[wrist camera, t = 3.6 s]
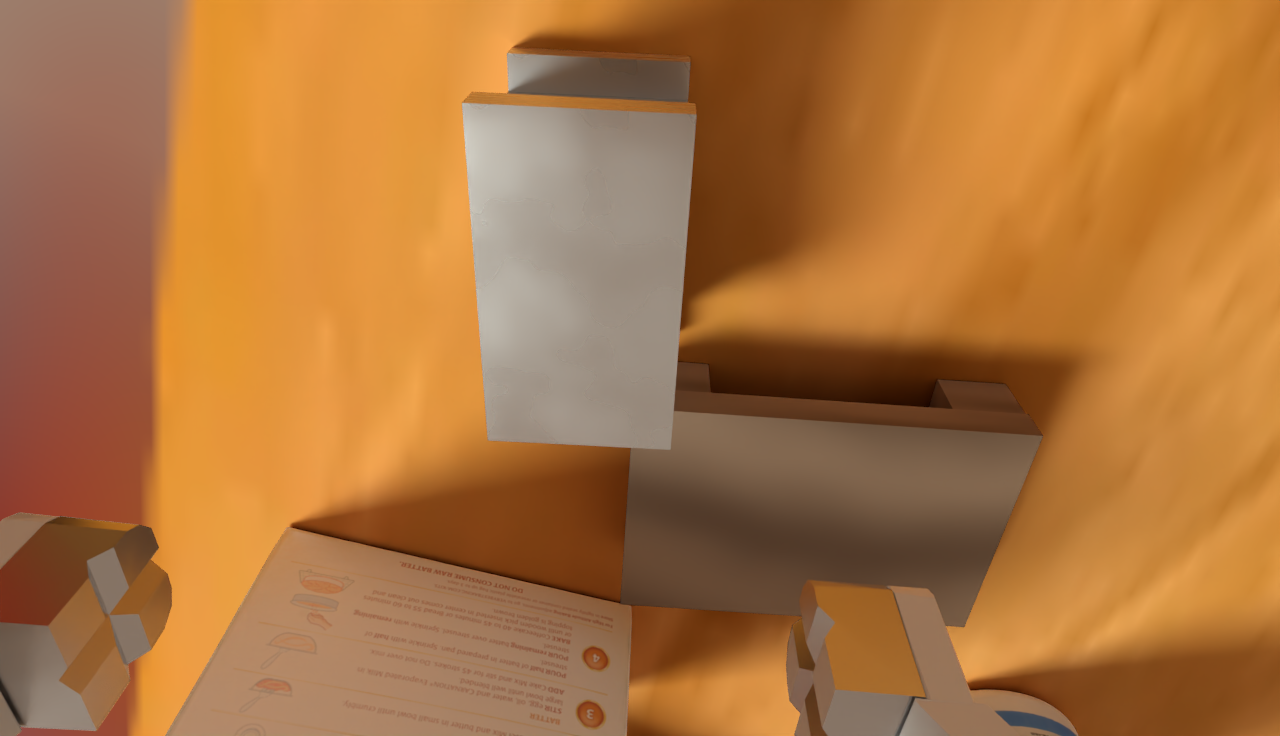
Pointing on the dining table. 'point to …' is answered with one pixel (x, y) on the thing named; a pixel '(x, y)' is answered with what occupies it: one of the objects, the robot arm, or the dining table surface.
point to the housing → (581, 244)
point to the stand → (822, 497)
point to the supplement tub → (1026, 713)
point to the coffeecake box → (409, 652)
